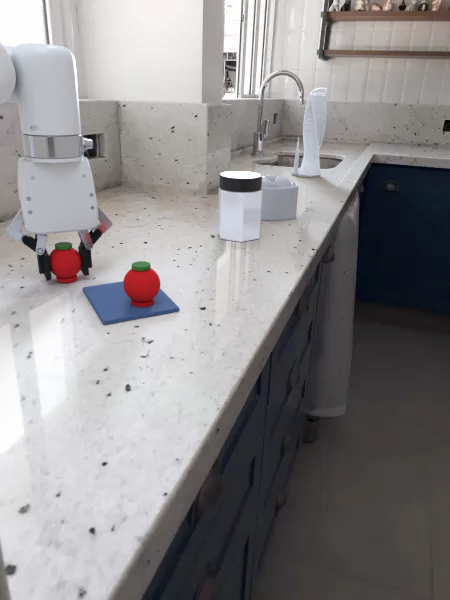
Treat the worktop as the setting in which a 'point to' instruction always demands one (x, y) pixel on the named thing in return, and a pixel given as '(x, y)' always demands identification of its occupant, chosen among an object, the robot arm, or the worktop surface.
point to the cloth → (124, 303)
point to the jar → (239, 206)
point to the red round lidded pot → (141, 284)
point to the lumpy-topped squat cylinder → (278, 198)
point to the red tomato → (65, 262)
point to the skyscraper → (312, 135)
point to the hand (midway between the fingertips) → (66, 274)
